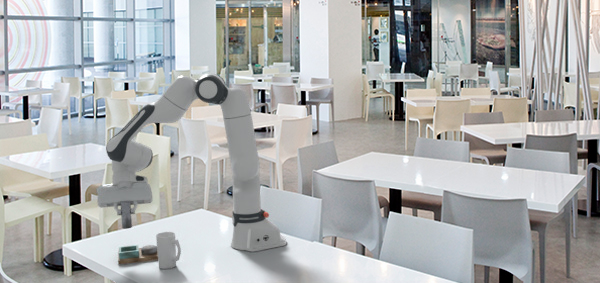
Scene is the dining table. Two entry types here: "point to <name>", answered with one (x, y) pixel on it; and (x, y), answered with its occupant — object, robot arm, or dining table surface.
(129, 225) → the pin
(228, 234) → the dining table surface
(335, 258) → the dining table surface
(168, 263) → the mug
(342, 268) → the dining table surface
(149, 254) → the nut block
